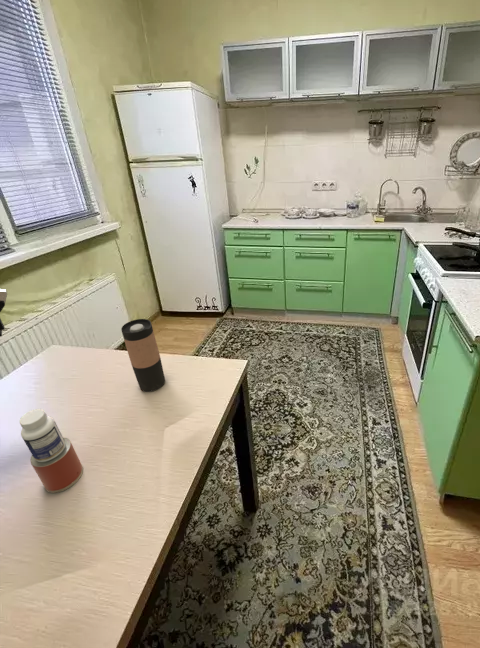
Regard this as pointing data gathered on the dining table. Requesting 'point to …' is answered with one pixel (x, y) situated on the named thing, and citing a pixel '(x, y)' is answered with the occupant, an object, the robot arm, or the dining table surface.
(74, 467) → the tin can
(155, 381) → the travel mug
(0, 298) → the robot arm
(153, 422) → the dining table surface
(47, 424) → the pill bottle
